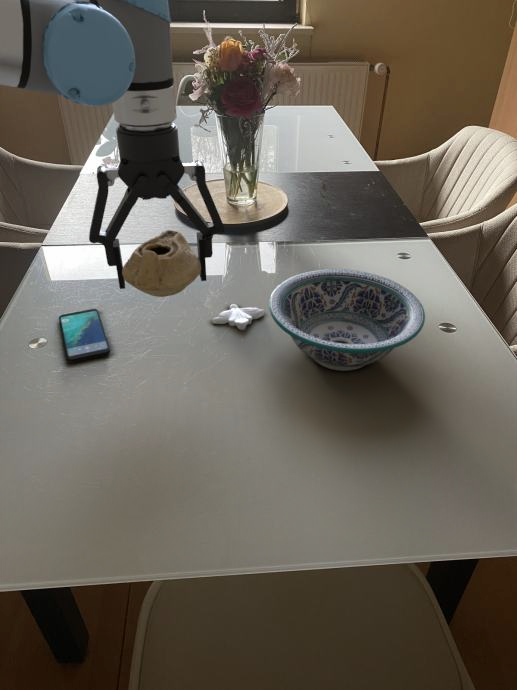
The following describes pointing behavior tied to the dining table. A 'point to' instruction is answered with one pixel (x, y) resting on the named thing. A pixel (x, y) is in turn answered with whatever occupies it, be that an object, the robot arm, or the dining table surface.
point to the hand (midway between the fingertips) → (163, 280)
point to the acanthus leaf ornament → (238, 316)
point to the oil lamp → (162, 265)
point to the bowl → (346, 316)
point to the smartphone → (83, 335)
